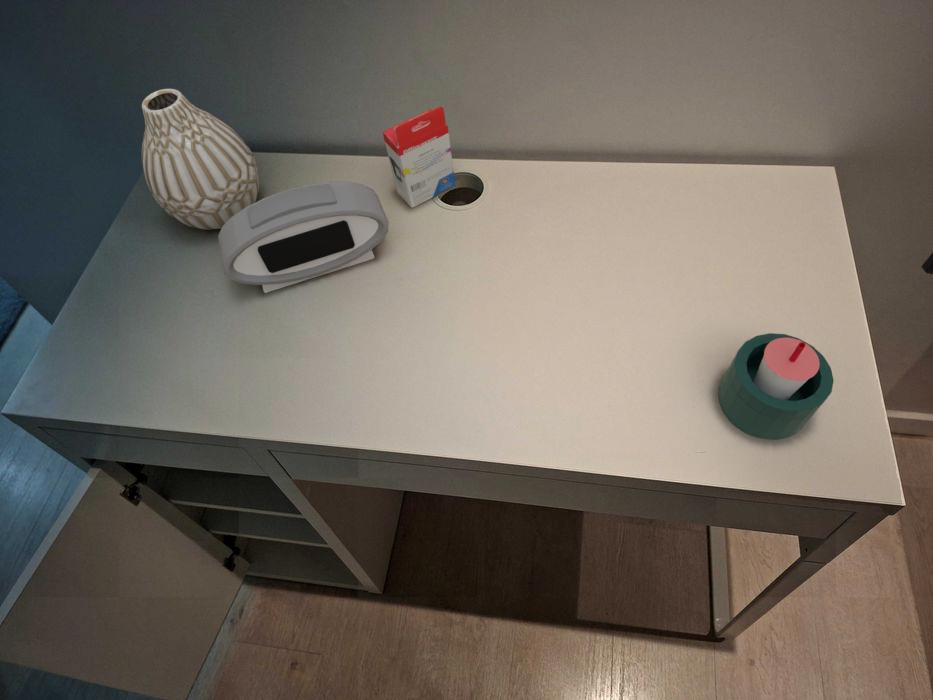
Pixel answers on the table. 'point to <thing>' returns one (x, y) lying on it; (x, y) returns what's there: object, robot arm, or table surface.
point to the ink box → (421, 156)
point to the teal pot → (758, 408)
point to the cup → (786, 367)
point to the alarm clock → (302, 234)
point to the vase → (195, 162)
